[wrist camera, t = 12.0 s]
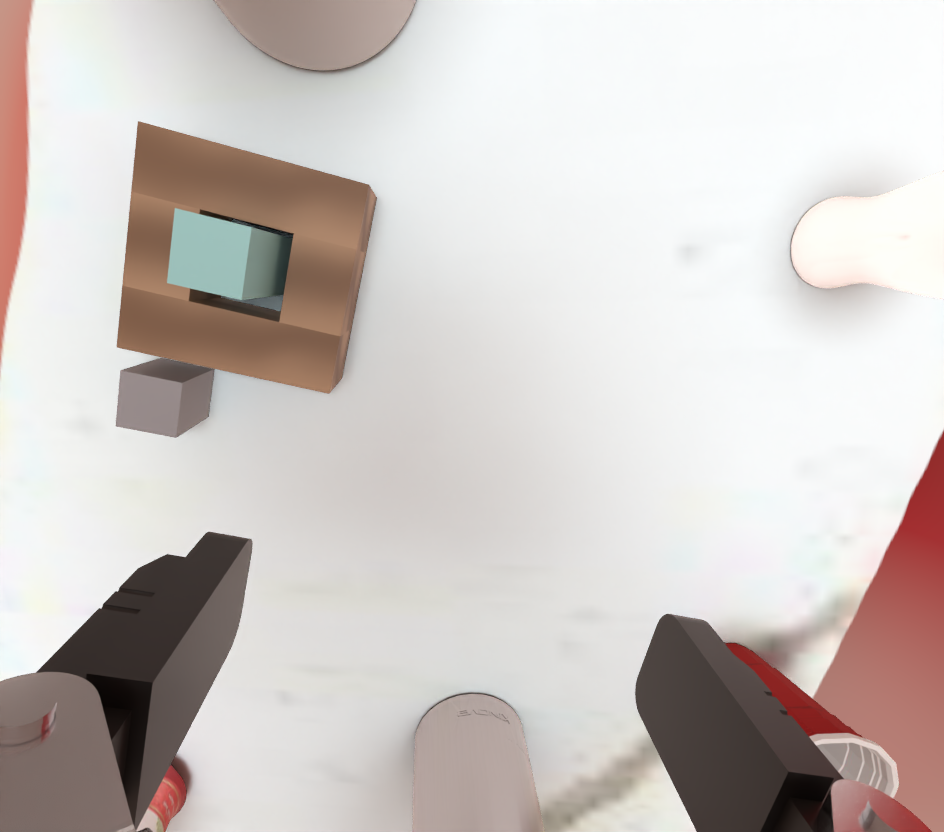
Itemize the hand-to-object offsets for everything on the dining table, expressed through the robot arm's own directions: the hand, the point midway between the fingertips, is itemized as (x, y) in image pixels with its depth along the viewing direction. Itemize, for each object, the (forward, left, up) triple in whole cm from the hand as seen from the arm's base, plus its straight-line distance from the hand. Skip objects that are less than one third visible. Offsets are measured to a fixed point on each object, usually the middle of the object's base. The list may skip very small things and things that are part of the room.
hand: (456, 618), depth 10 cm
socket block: (+4, +12, -28) cm, 31 cm away
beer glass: (+15, -25, -28) cm, 41 cm away
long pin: (+5, +12, -28) cm, 31 cm away
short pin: (-5, +16, -28) cm, 33 cm away
